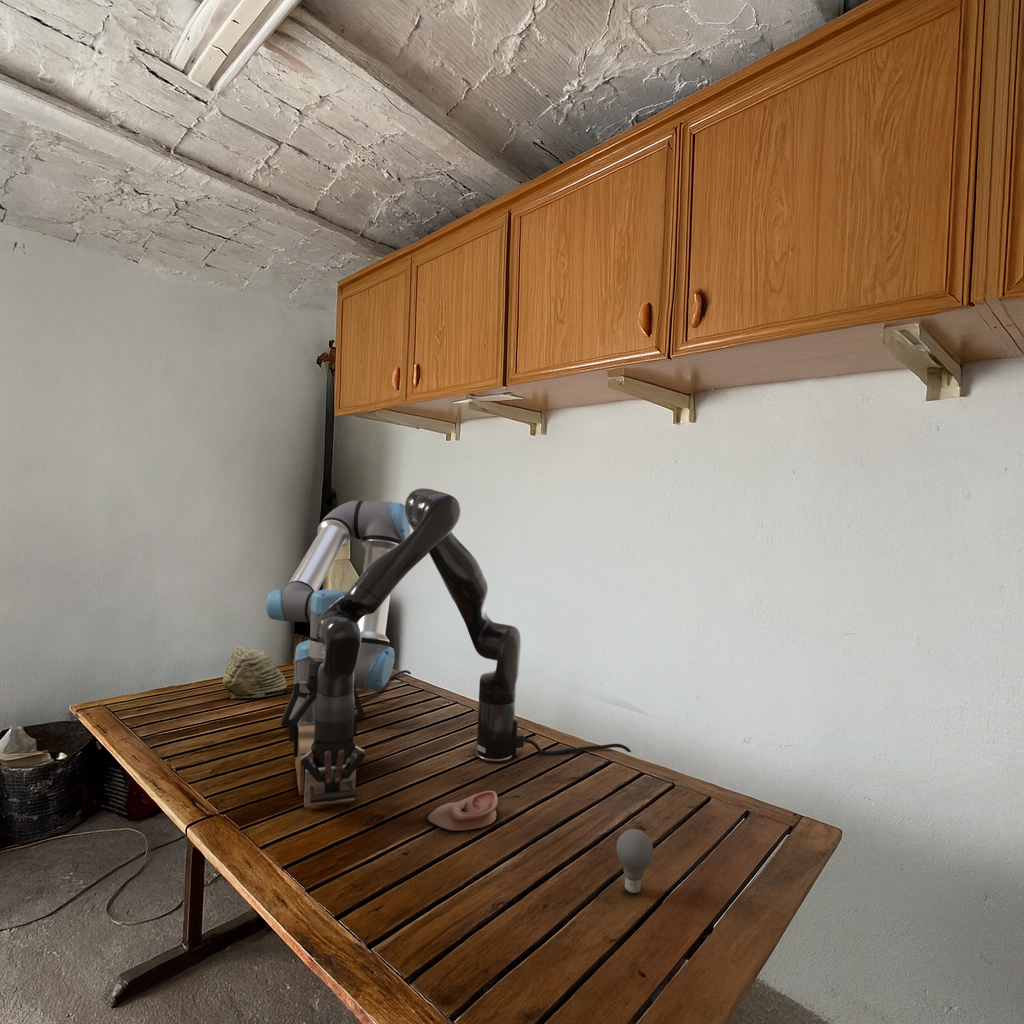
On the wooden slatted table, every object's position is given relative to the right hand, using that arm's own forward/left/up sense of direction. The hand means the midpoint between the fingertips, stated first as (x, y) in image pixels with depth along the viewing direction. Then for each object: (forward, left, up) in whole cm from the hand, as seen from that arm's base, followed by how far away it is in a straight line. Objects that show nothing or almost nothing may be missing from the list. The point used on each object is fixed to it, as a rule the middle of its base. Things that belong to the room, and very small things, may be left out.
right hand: (331, 799), depth 126 cm
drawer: (0, -8, -2) cm, 8 cm away
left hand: (0, -22, +1) cm, 22 cm away
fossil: (+14, -83, -3) cm, 85 cm away
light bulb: (-44, +40, -3) cm, 60 cm away
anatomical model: (-25, +9, -3) cm, 26 cm away
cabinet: (0, -19, -3) cm, 19 cm away
